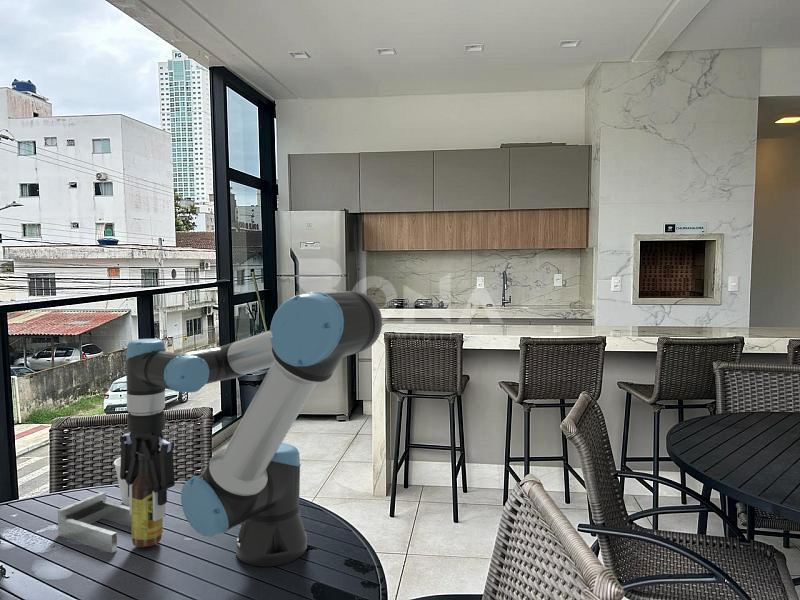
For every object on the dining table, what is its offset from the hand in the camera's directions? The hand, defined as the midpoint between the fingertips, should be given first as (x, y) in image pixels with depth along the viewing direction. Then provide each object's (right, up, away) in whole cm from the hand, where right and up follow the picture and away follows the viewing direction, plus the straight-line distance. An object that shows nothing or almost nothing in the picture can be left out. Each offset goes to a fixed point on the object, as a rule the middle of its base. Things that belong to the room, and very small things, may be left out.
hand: (147, 514), depth 124 cm
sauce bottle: (0, -6, 0) cm, 6 cm away
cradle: (-11, -6, +5) cm, 14 cm away
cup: (-13, -5, +23) cm, 27 cm away
